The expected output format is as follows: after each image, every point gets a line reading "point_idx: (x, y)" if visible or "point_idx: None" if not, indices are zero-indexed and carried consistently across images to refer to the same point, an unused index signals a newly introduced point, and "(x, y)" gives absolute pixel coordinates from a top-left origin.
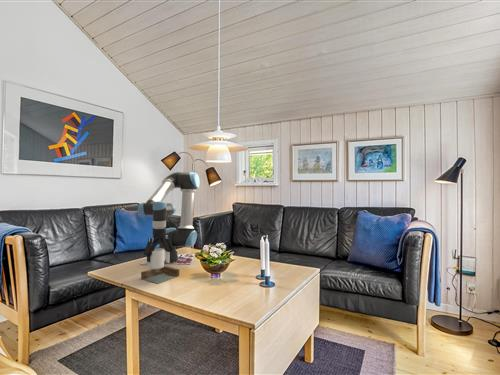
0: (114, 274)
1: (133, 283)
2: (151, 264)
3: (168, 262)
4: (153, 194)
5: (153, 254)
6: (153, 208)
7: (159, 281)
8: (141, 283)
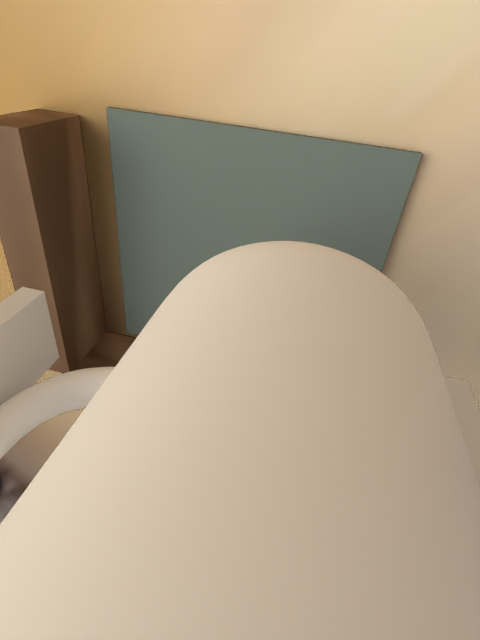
0: None
1: (475, 395)
2: (470, 432)
3: (37, 298)
4: None
5: None
6: None
7: (342, 182)
8: (455, 333)
